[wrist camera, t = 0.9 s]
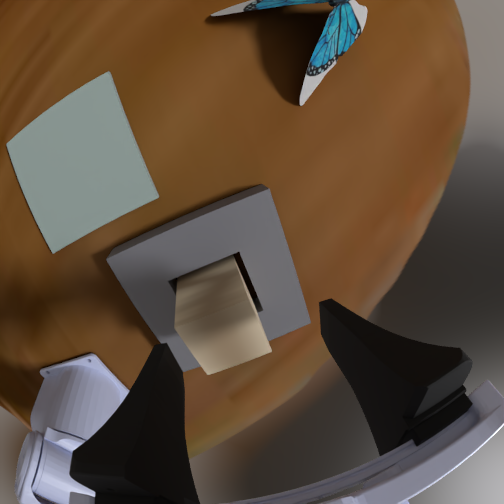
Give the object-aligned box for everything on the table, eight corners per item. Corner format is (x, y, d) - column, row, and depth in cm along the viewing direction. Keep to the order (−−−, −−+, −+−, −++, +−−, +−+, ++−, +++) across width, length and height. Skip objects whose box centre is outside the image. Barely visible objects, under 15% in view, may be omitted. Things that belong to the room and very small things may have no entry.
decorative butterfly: (413, 37, 13) (360, 86, 12) (360, 57, 19) (299, 110, 18) (329, -55, 9) (236, -39, 8) (288, -19, 14) (205, 16, 13)
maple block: (201, 313, 22) (207, 375, 16) (178, 270, 21) (174, 328, 14) (250, 294, 23) (272, 351, 16) (230, 249, 21) (248, 299, 14)
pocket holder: (182, 356, 24) (183, 371, 22) (113, 248, 19) (106, 259, 17) (302, 309, 24) (310, 322, 23) (261, 183, 19) (269, 188, 17)
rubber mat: (55, 251, 18) (52, 253, 17) (9, 143, 13) (6, 144, 13) (159, 196, 18) (158, 197, 18) (110, 72, 14) (108, 71, 13)
